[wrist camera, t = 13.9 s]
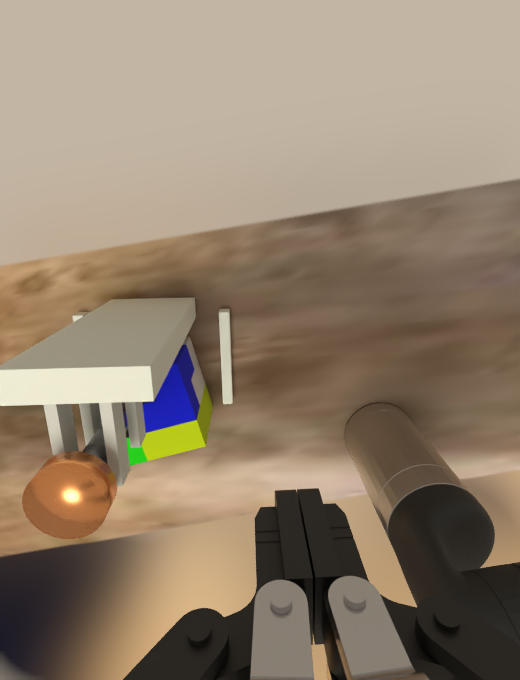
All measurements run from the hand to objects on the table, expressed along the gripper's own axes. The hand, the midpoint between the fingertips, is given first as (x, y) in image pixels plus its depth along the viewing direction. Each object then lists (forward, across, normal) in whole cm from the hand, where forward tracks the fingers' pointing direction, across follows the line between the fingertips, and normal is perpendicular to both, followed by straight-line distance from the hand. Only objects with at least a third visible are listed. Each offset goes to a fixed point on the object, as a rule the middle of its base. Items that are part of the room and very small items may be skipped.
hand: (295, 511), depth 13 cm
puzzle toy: (+37, +13, +10) cm, 41 cm away
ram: (+25, +13, +6) cm, 29 cm away
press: (+37, +13, +6) cm, 40 cm away
